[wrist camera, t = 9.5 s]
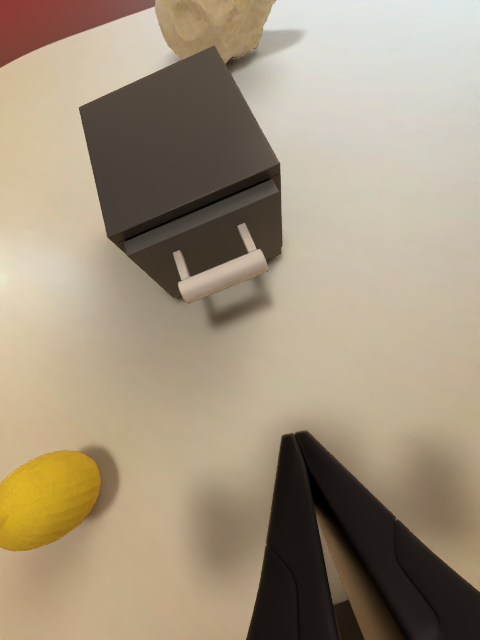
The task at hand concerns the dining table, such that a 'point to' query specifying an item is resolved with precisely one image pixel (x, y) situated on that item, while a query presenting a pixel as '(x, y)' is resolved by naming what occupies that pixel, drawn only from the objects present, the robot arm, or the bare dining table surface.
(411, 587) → the robot arm
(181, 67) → the dark drawer box
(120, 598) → the dining table surface
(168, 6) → the beige rock
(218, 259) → the dark grey drawer
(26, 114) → the dining table surface
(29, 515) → the lemon
